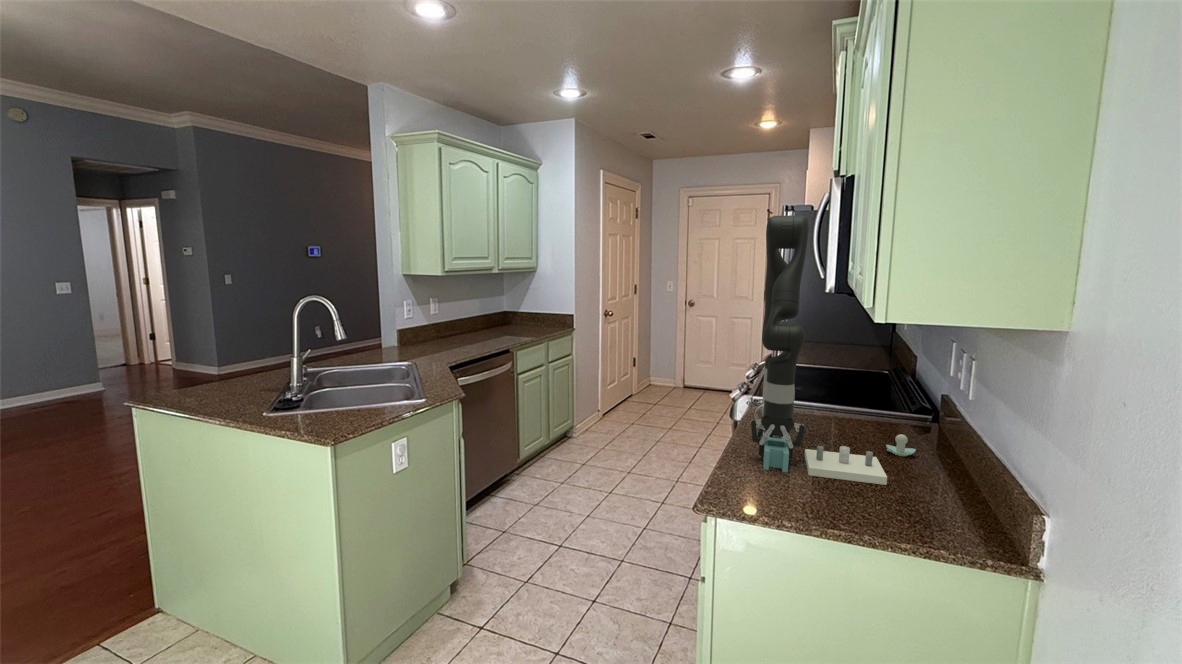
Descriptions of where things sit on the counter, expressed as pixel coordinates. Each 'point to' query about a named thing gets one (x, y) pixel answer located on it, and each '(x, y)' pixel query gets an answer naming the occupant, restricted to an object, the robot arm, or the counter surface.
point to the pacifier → (900, 447)
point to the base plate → (845, 465)
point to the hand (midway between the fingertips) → (775, 458)
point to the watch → (761, 424)
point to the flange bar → (776, 454)
